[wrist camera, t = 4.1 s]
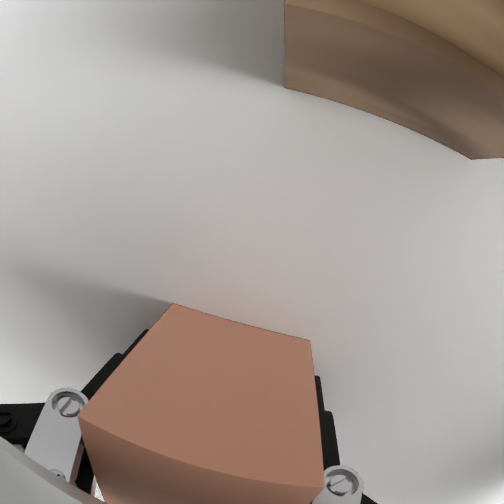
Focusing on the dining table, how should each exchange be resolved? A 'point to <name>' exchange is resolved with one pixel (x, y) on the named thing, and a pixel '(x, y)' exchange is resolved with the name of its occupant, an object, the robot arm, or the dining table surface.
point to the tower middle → (458, 24)
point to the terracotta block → (207, 417)
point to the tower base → (394, 73)
